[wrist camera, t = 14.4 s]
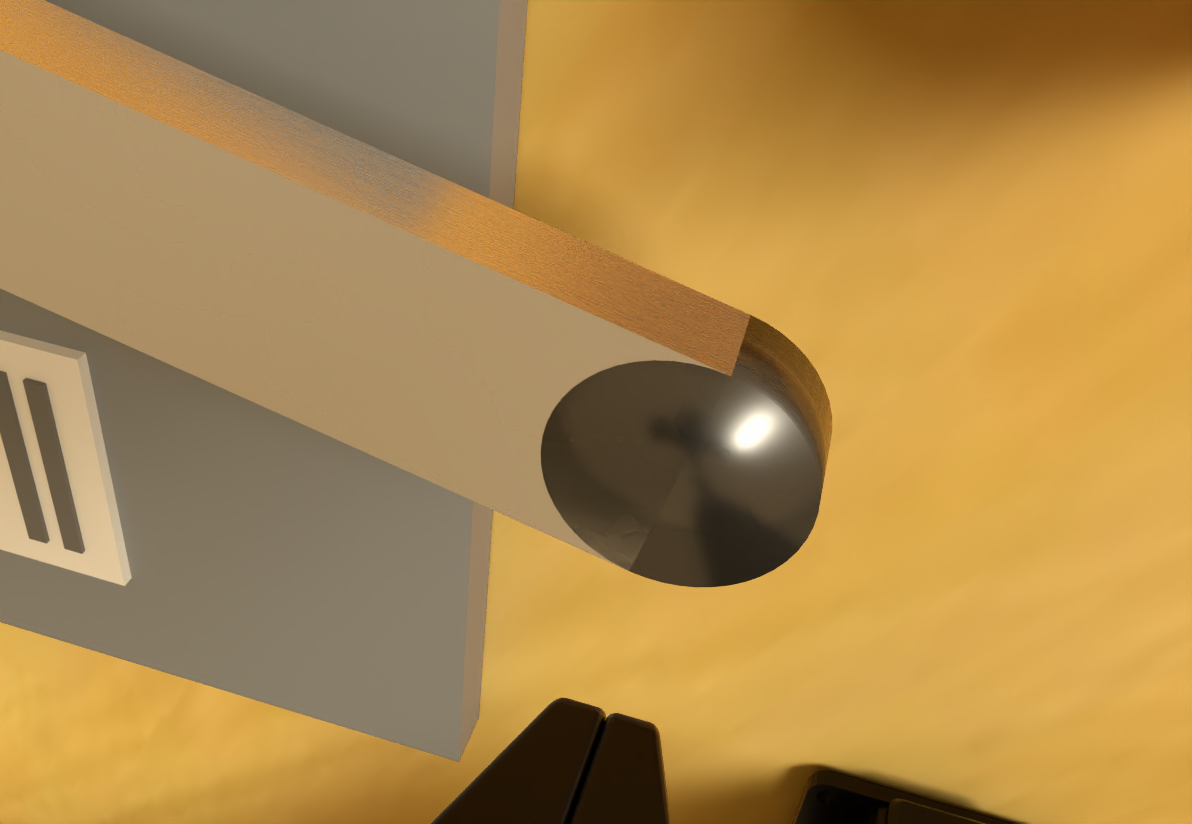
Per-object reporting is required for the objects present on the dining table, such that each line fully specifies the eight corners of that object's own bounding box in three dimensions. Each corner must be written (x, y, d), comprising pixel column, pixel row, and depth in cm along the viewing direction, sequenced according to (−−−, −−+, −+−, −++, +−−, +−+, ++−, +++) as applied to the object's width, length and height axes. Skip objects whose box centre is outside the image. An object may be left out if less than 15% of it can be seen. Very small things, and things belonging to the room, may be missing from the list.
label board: (478, 718, 31) (430, 827, 28) (-154, 529, 34) (-253, 611, 31) (539, -173, 18) (458, -130, 15) (-510, -354, 21) (-740, -347, 18)
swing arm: (-340, 21, 19) (-594, 102, 16) (-393, -229, 17) (-707, -190, 14) (773, 519, 19) (732, 700, 16) (885, 340, 17) (863, 512, 13)
